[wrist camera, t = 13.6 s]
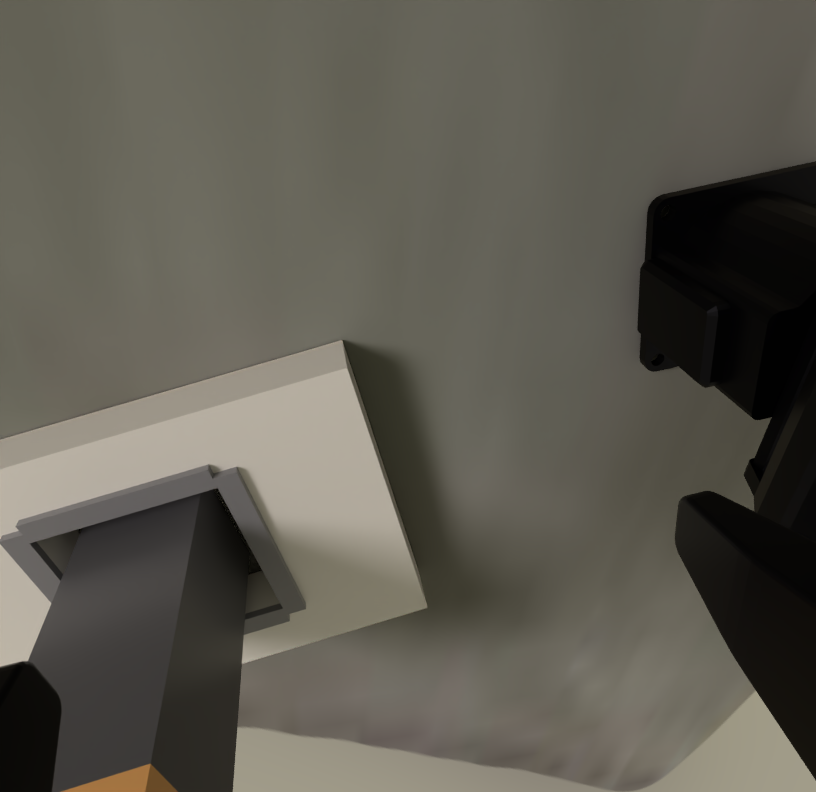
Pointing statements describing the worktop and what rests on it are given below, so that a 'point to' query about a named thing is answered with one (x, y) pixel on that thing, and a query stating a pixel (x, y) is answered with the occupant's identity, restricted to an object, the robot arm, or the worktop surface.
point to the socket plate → (241, 490)
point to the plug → (149, 651)
